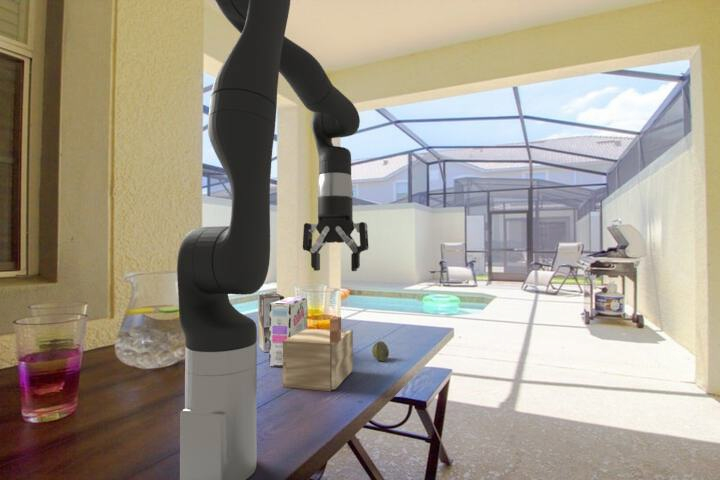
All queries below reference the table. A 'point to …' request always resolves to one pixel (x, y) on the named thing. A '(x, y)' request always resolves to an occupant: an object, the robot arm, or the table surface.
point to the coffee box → (265, 318)
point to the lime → (380, 351)
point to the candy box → (285, 325)
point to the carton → (308, 360)
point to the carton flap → (340, 352)
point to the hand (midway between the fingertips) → (335, 270)
